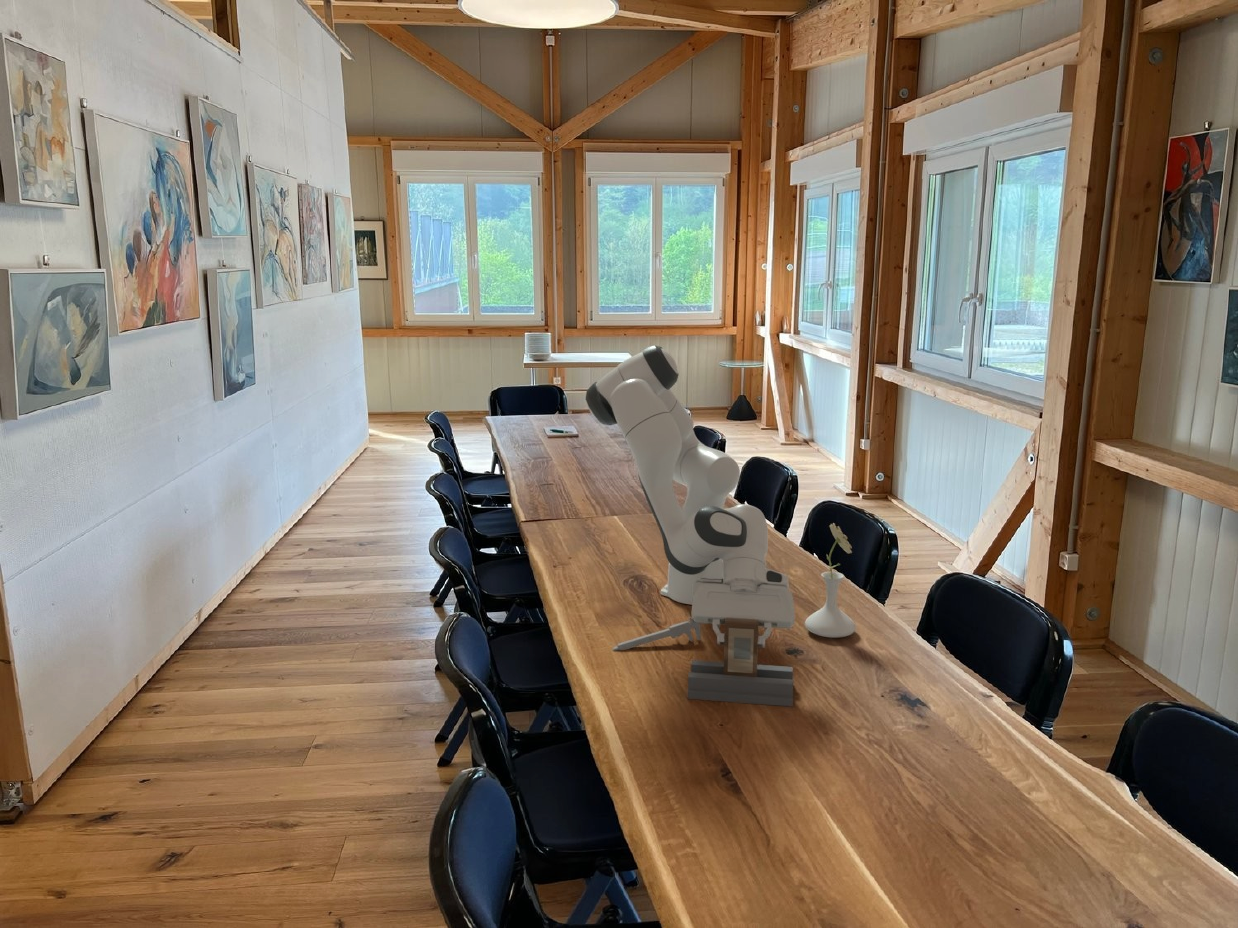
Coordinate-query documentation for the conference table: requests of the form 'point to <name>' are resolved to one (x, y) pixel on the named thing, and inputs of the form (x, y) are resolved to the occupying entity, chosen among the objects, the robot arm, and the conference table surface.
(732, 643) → the wooden picture frame
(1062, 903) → the conference table surface
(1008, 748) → the conference table surface
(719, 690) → the picture ledge
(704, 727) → the conference table surface
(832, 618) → the flower in vase
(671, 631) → the caliper
